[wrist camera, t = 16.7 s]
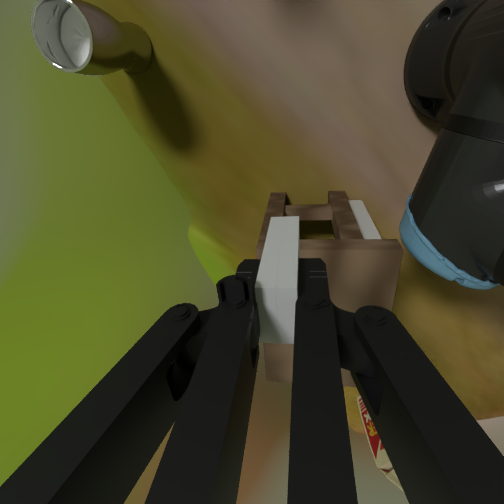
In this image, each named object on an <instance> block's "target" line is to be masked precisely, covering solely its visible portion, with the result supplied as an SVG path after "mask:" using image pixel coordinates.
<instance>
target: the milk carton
mask: <svg viewBox="0 0 504 504" xmlns="http://www.w3.org/2000/svg"><path fill="white" fill-rule="evenodd" d="M357 403H358V407H359V411H360V415H361V418H362V422H363V425H364V429H365V432H366V435H367V439H368V442H369V445H370V448H371V451H372V453H373V456H374V459H375V462H376V465H377V468H378V469H379V470H380V471H382V472H383V473H384V474H385V476H386V477H387V478H388V479H389V480H390V481H391V482H393V483H394V484H395V485H396V486H397V487H399V488H400V489H401V490H402V491H403V488H402V486H401V484H400V482H399V480H398V477H397V475H396V473H395V471H394V469H393V466H392V464H391V462H390V460H389V458H388V455H387V453H386V451H385V449H384V447H383V444H382V442H381V440H380V438H379V436H378V433H377V431H376V429H375V427H374V425H373V422H372V420H371V418H370V416H369V414H368V411H367V409H366V407H365V405H364V403H363V400H362V398H361V396H360V395H359V396H358V397H357ZM403 492H404V491H403Z"/></svg>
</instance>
